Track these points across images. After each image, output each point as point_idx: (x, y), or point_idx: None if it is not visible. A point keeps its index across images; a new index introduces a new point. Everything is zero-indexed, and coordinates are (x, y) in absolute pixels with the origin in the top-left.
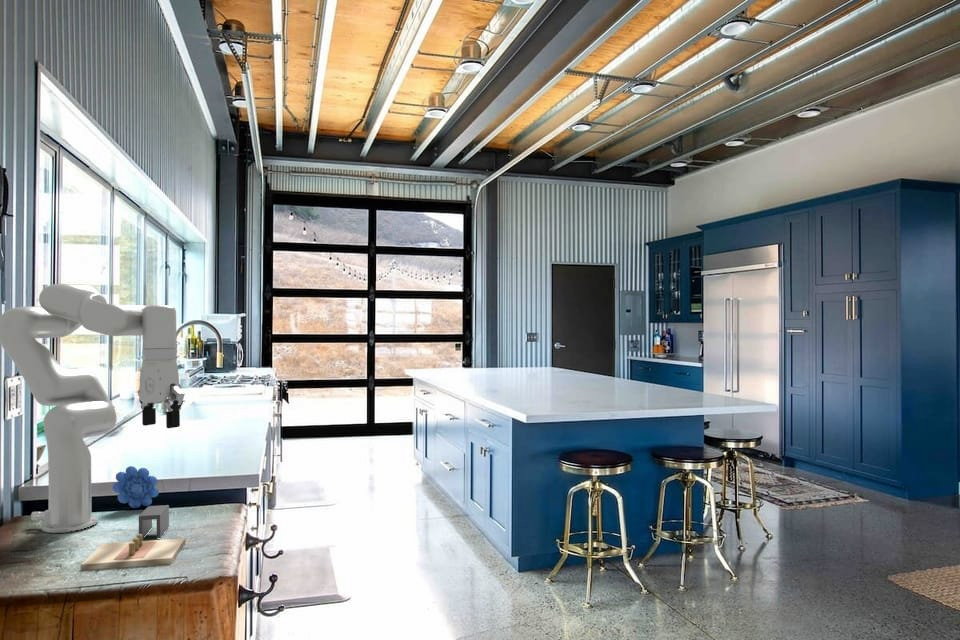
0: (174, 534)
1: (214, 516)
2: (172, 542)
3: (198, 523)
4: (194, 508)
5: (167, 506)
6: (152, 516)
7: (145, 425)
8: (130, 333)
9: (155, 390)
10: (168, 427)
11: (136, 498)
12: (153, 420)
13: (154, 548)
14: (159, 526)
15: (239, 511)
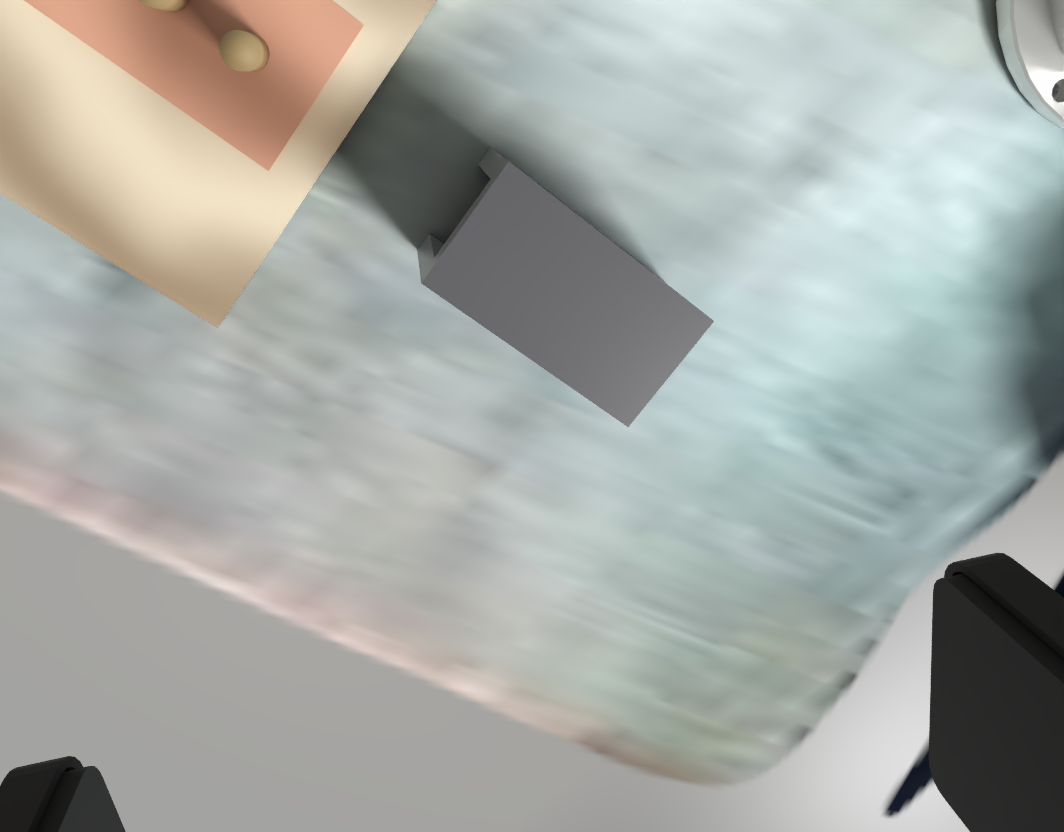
0: (450, 348)
1: (611, 631)
2: (181, 235)
3: (553, 524)
4: (846, 618)
5: (600, 406)
6: (452, 239)
7: (944, 586)
8: None
9: None
10: (24, 783)
11: None
12: (976, 793)
13: (129, 99)
14: (422, 262)
15: (592, 750)
